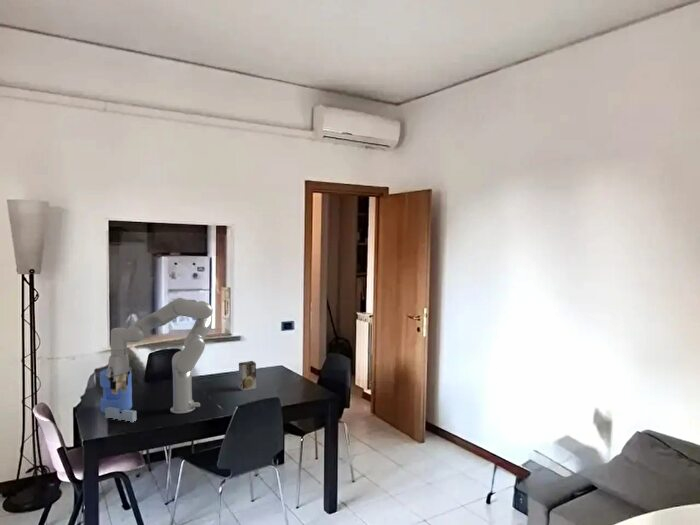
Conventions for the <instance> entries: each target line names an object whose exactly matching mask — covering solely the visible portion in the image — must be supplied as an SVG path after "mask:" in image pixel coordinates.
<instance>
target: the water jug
mask: <svg viewBox="0 0 700 525" xmlns="http://www.w3.org/2000/svg"><path fill="white" fill-rule="evenodd" d="M107 373H108V367H107V368H105V369H103V370H102V371H100V372H99V385H100V387H102V393H103V394H102V396H101V397H100V408H99V409H100V412H101V413H103V414H105V408H107V407H113V408H119V413H120V412H121V413H122V411H123V410H125V409H127V410H132V408H133V397H132V396H133V395H132V394H133V387H132V376H133V375H132V374H133V373H132V371H131V372H130V374H129V377H128V385H126V391H120V388H119V389H118V394H112V389H110V381H109V380H108V378H107V377H106V374H107ZM110 376H111V375H110Z"/></svg>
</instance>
